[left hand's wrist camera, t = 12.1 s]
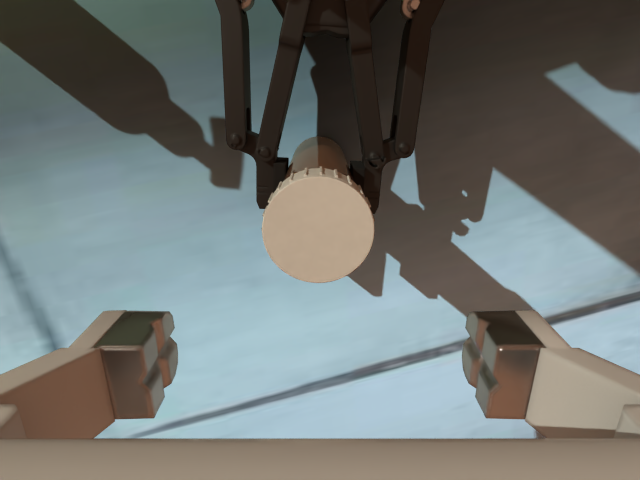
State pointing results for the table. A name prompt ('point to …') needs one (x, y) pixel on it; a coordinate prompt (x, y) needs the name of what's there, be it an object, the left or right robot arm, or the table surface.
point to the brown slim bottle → (318, 156)
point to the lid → (318, 225)
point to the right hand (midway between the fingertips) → (315, 253)
